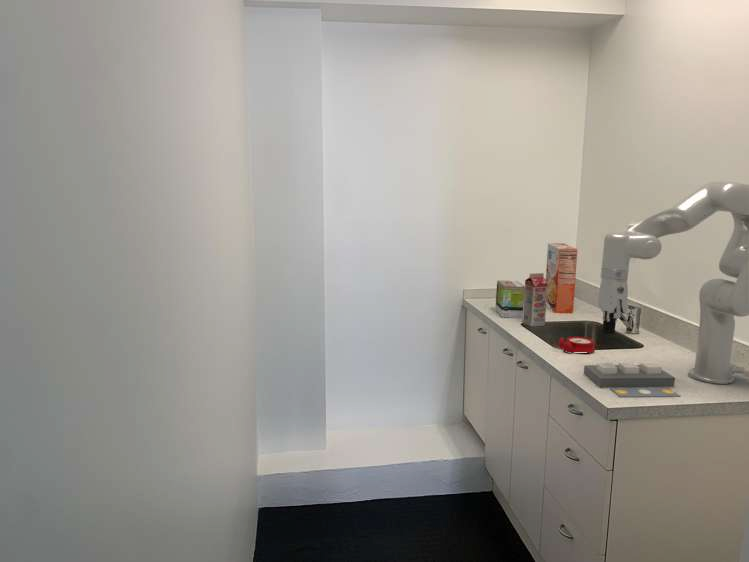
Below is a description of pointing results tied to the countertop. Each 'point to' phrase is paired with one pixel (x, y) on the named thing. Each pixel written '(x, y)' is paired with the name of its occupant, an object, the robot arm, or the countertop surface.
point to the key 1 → (606, 368)
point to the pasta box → (561, 277)
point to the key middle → (628, 368)
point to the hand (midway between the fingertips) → (608, 333)
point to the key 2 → (650, 368)
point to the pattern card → (644, 392)
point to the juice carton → (535, 300)
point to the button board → (628, 378)
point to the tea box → (510, 299)
